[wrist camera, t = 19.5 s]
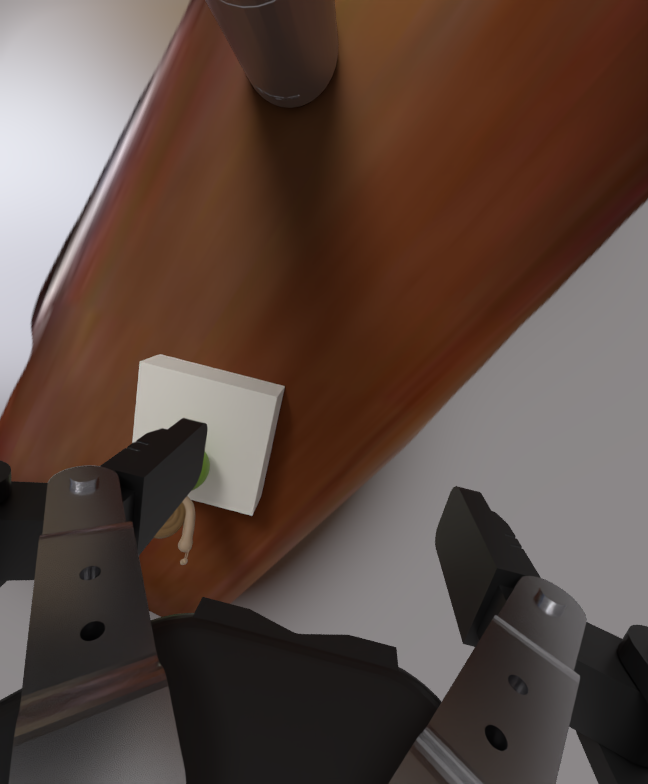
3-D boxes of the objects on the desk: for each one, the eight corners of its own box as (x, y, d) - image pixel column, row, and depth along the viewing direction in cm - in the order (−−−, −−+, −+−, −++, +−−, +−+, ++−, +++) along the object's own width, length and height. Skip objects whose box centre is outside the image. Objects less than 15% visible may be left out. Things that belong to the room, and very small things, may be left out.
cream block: (162, 353, 47) (139, 361, 42) (285, 385, 47) (277, 396, 42) (150, 464, 52) (128, 483, 47) (262, 494, 51) (252, 515, 47)
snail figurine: (213, 463, 46) (177, 567, 39) (163, 443, 44) (114, 550, 37) (231, 450, 43) (194, 562, 36) (177, 427, 40) (125, 544, 33)
